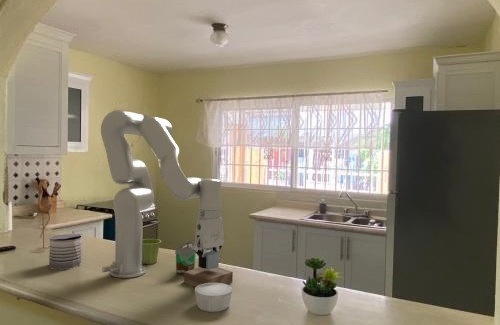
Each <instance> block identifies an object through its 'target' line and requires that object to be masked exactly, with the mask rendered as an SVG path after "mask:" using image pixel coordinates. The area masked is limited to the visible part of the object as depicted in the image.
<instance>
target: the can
mask: <svg viewBox="0 0 500 325" xmlns="http://www.w3.org/2000/svg"><path fill="white" fill-rule="evenodd" d="M82 235H83V233H78V232H77V233H65V234H58V235H54V236H50V237H48V239H49V256H48V257H49V260H48V261H49V262H48V264H49V265H48V267H50V268H49V269H51V268H53V269H52V270H54V269H60V270H59V271H61V270H62V271H63V270H64V269H65V270H71V269H70V268H72V269H75V268H77V267H76V266H78V265H80V263H81V264H82ZM80 266H81V265H80ZM74 267H75V268H74ZM78 267H79V266H78Z"/></svg>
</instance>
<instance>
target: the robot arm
mask: <svg viewBox="0 0 500 325" xmlns="http://www.w3.org/2000/svg"><path fill="white" fill-rule="evenodd" d="M173 129H174V128H173V125H172V124H171V123H170V121H168V120H167V119H165V118H162V117H157V116H151V115H145V114H143V113H142V114H141V113H138V112H135V111H134V112H133V111H130V110H129V111H128V110H125V109H116V110H112V111H110V112H109V113H107V114H106V115H105V116H104V118H103V120H102V122H101V125H100V136H101V139H102V143H103V146H104V150H105V154H106V158H107V162H108V167H109V172H110V175H111V179H112V181H113V182H114V183H115V184H118V185H120V186H121V185H124V186H125V185H128V187H125V188H122V189H120V190H118V191H117V192H116V193H115V195H114V198H113V200H112V201H113V203H112V204H113V210H114V216H115V217H114V218H115V248H114V249H115V251H114V253H115V254H114V257H115V258H114V261H112V262H111V264H110V265H106V266H102V268H101V270H102V273H107V272H109V273H110V274H109V275H110V276H112V277H114V278H117V279H118V278H119V279H127V278H129V279H130V278H137V277H139V276H143V275H145V274H146V272H147V267H145V266H143V264H142V240H143V234H144V232H143V230H144V229H143V227H144V226H143V219H142V218H143V217H142V216H141V212H142V211H145V210H148V209H149V208H151V206H153V204H154V200H155V194H154V188H153V184H152V180H151V176H150V172H149V169H148V167H147V165H146V164H145V162H144V161H142V160H141V159H137V158H133V155H132V151H131V147H130V144H129V142H128V141H127V139H126V136H125V135H134V136H140V137H143V138H144V140H145V142H146V144H147V145H148V147H149V148H150V149H151V151H152V152H153V154H154V156H155V158H156V159H157V161H158V167H159V171H160V175H161V178H162V180H163V182H164V184H165V186H166V187H167V189H168V190H169V192H170V193H171V194H172V196H174V197H175V198H176V199H177V200H181V201H187V200H190V199H194V198H198V201H199V202H198V212H197V217H198V218H197V221H196V226H195V234H194V235H195V237H194V245H193V246H192V250H194V251H195V252H196V255H197V256H198V257H199V267H201V268H204V269H205V268H206V257H205V254H206V251H207V250H210V249H211V251H215V252H218V253H219V254H220V253H221V251H220V250H221V249H222V246H223V247H224V244H225V242H226V241H225V232H224V222H223V221H224V220H223V217H221V207H222V205H221V204H222V202H221V201H222V182H221V180H220V179H217V178H201V177H196V176H195V177H194V176H190V177H187V176H186V175H185V174H184V172H183V170H182V169H181V167H180V164H179V160H178V156H179V153H180V148H179V146H178V144H177V143H176V141H175V140H174V139H173V137H172V135H173ZM199 267H198V268H199Z"/></svg>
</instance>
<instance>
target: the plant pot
mask: <svg viewBox="0 0 500 325" xmlns="http://www.w3.org/2000/svg"><path fill="white" fill-rule="evenodd" d="M161 243H162V240H161V239H159V238H158V239H155V238H145V239H142V265H145V264H146V265H154V264H156V263H157V262H158V256H159V251H160V250H159V249H160V246H161Z"/></svg>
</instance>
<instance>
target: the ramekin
mask: <svg viewBox="0 0 500 325" xmlns="http://www.w3.org/2000/svg"><path fill="white" fill-rule="evenodd" d="M194 294H195V301H196V306H197V308H199V310H201V311H203V312H208V313H216V312H217V313H218V312H222V311H224V310H226V309H228V307H229V306H230V303H231V298H232V294H233V287H232V286H230V285H229V284H223V283H205V284H201V285H198V286H197V287H195V288H194Z"/></svg>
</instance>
